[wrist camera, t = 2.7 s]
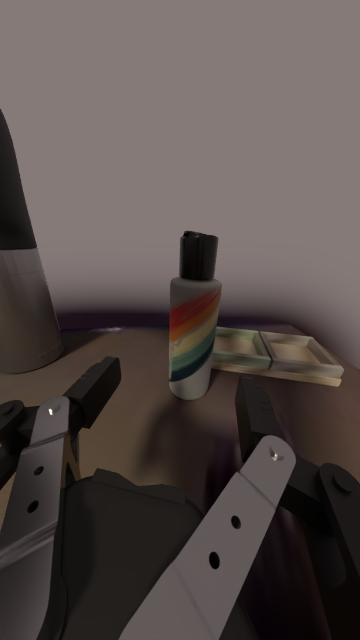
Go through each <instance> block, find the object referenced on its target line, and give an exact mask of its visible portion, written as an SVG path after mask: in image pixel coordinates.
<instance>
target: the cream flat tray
mask: <svg viewBox="0 0 360 640" xmlns="http://www.w3.org/2000/svg"><path fill="white" fill-rule="evenodd" d="M211 368H212V369H219V370H226V371H233V372H240V373H247V374H254V375H261V376H268V377H275V378H282V379H289V380H296V381H303V382H310V383H317V384H324V385H331V386H339V384H340V383H341V381H342V380H341V379H340V377H341V375H342V373H343V371H344V369H343V368H342V367H341V366H340V365H339V364H338V363H337V362H336V361H335V360H334V359H333V358H332V357H331V356H330V355H329V354H328V353H327V352H326V351H325V350H324V349H323V348H322V347H321V346H320V345H319V344H318V343H317V342H316V341H315V340H314V339H313V337H307V336H297V335H288V334H279V333H270V332H261V331H260V332H259V333H258V331H251V330H242V329H233V328H224V327H216V334H215V342H214V349H213V357H212V364H211Z"/></svg>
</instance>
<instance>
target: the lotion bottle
mask: <svg viewBox="0 0 360 640" xmlns="http://www.w3.org/2000/svg"><path fill="white" fill-rule="evenodd" d="M217 247H218V237H216V236H213V235H206V234H202V233H198V232H193V231H185V232H184V235H183V236H182V237H181V238H180V267H179V276H180V277H177V278H174V279H172V280H171V283H170V335H169V386H170V389H171V391H172V392H173V393H174V394H175V395H176V396H177V397H179V398H182V399H185V400H195V399H198V398H200V397H202V396H203V395H204V394H205V393H206V392H207V389H208V385H209V379H210V372H211V364H212V357H213V349H214V342H215V334H216V327H217V318H218V312H219V304H220V296H221V287H222V284H221V282H220V281H218V280H216V279H213V278H214V272H215V263H216V255H217Z"/></svg>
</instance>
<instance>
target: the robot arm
mask: <svg viewBox="0 0 360 640" xmlns="http://www.w3.org/2000/svg"><path fill="white" fill-rule="evenodd" d="M36 247H37V245H36V241H35V238H34V234H33V229H32V226H31V221H30V218H29V214H28V210H27V206H26V202H25V197H24V193H23V189H22V184H21V179H20V174H19V169H18V164H17V159H16V155H15V150H14V146H13V142H12V138H11V135H10V132H9V129H8V126H7V123H6V120H5V118H4V115H3V113H2V111H1V109H0V372H3V373H22V372H27V371H31V370H34V369H38V368H40V367H43V366H45V365H47V364H49V363H51V362H53V361H54V360H56V359H57V358H58V357H59V356H60V355H61V354H62V353H63V351H64V345H63V341H62V338H61V334H60V330H59V326H58V322H57V319H56V315H55V311H54V308H53V304H52V300H51V297H50V293H49V289H48V285H47V282H46V278H45V274H44V270H43V267H42V263H41V260H40V256H39V252H38V248H36ZM120 381H121V369H120V361H119V358H116V357H110V356H107V357H105V358H104V359H103V360H102V362H101V363H96V364H95V365H93V366H91V367H90V368H89V369H88V370H87V371H86V372H85V374H83V375H82V376H81V378H79V379H78V380H77V381H76V382H75V383H74V384H73V385H72V386H71V387H70V388H69V389H68V390H67V391H66V392H65V393H64V394H63V395H62V396H58V397H54V398H51V399H49V400H47V401H46V402H44V403H43V404H42V405H41V406H33V407H25V406H24V404H23V402H22V401H20V400H13V401H9V402H6V403H3V404H1V405H0V444H1V445H2V446H1V447H0V490H1V489H2V488H3V486H4V485H5V484H6V483H7V482H8V480H9V479H10V478H11V477H12V475H13V474H14V473H15V472H16V474H15V478H14V482H13V486H12V490H11V494H10V498H9V502H8V505H7V509H6V513H5V517H4V521H3V525H2V529H1V532H0V640H259V637H258V635H257V633H256V631H255V628H254V626H253V624H252V621H251V619H250V617H249V614H248V612H247V610H246V607H245V605H244V603H243V601H242V598H241V596H240V594H239V592H240V590H241V588H242V585H243V583H244V581H245V579H246V576H247V574H248V572H249V570H250V567H251V565H252V563H253V561H254V558H255V556H256V554H257V551H258V549H259V547H260V545H261V542H262V540H263V538H264V536H265V533H266V531H267V529H268V527H269V524H270V522H271V520H272V517H273V515H274V513H275V510H276V507H277V505H280V506H282V507H283V508H285V509H286V510H288V511H290V512H291V513H293V514H294V515H296V516H298V517H299V518H301V522H302V526H303V530H304V534H305V538H306V541H307V545H308V549H309V553H310V557H311V561H312V564H313V568H314V572H315V576H316V580H317V584H318V587H319V591H320V595H321V599H322V603H323V607H324V611H325V614H326V618H327V622H328V626H329V630H330V634H331V637H332V640H360V484H359V482H358V481H357V480H356V479H355V478H354V477H353V476H352V475H351V474H350V473H349V472H347V471H346V470H345V469H343V468H341V467H340V466H337V465H335V464H331V463H325V464H323V465H322V466H321V467H318V466H316V465H314V464H312V463H310V462H308V461H306V460H304V459H302V458H300V457H299V456H297V455H296V454H295V453H294V452H293V450H292V449H291V447H290V446H289V445H288V444H287V443H286V442H285V441H284V440H283V438H282V435H281V432H280V429H279V426H278V423H277V420H276V417H275V414H274V412H273V409H272V406H271V403H270V400H269V397H268V395H267V393H266V392H265V391H264V390H263V389H262V388H259V387H256V385H255V382H254V379H253V378H251V377H244V376H240V378H239V382H238V386H237V391H236V396H235V406H236V414H237V423H238V431H239V439H240V448H241V456H242V462H244V463H245V464H244V466H243V467H242V469H241V470H240V471H237V472H236V473H235V474H234V476H233V477H232V478H231V480H230V481H229V483H228V484H227V486H226V487H225V489H224V490H223V491H222V493H221V494H220V496H219V497H218V499H217V500H216V502H215V503H214V504H213V506H212V507H211V509H210V510H209V512H208V513H207V515H206V516H205V517H204V515H203V514H202V512H201V511H200V510H199V509H198V508H197V507H196V506H195V505H194V504H193V503H192V502H191V501H189V500H188V499H186V498H185V497H186V490H184V489H180V488H176V487H172V486H168V485H164V484H160V485H148V486H136V485H135V484H133V483H132V482H130V481H129V480H127V479H126V478H124V477H123V476H121V475H120V474H118V473H115V472H111V471H107V470H103V469H99V468H97V469H96V471H95V473H94V475H93V476H90V477H85V478H83V479H81V476H80V469H79V433H78V432H79V431H80V430H81V428H82V427H83V428H88V429H90V427H91V426H92V424H93V423H94V421H95V420H96V418H97V417H98V415H99V414H100V412H101V411H102V409H103V408H104V406H105V405H106V403H107V402H108V400H109V399H110V397H111V396H112V394H113V393H114V391H115V390H116V388H117V387H118V385H119V383H120ZM16 470H17V471H16Z"/></svg>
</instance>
